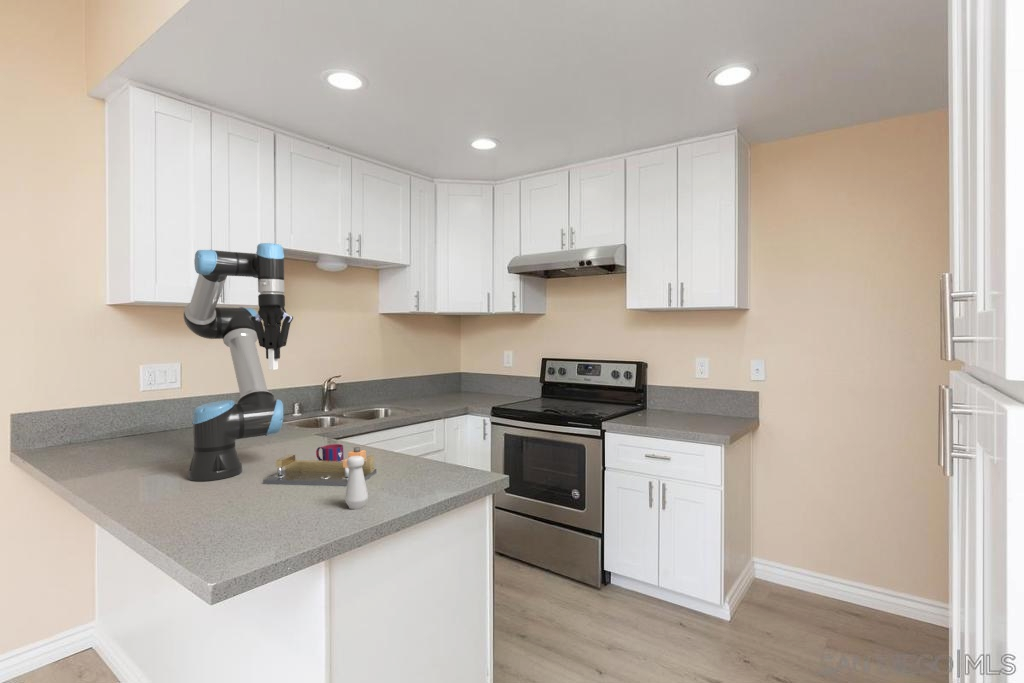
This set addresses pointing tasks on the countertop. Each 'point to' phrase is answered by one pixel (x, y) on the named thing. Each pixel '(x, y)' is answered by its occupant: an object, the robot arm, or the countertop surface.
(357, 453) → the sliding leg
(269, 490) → the countertop surface
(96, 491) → the countertop surface
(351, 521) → the countertop surface
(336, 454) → the mug
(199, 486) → the countertop surface
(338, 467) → the brass l-shaped beam
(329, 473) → the plate
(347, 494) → the salt shaker
